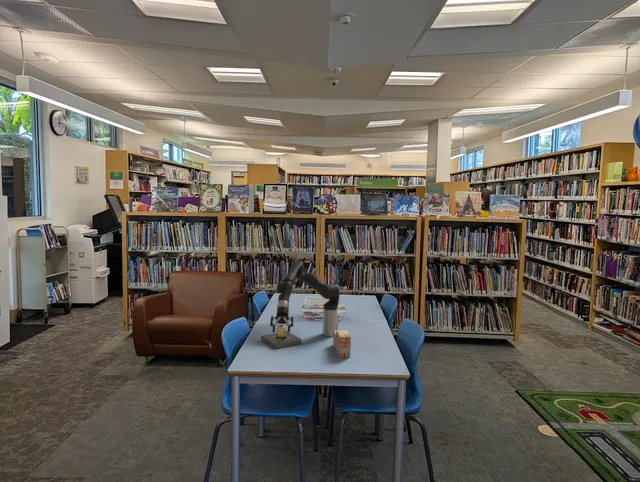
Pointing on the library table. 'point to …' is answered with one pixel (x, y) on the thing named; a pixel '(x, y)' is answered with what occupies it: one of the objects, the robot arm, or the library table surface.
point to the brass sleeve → (281, 331)
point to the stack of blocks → (342, 343)
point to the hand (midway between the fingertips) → (281, 332)
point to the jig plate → (280, 340)
